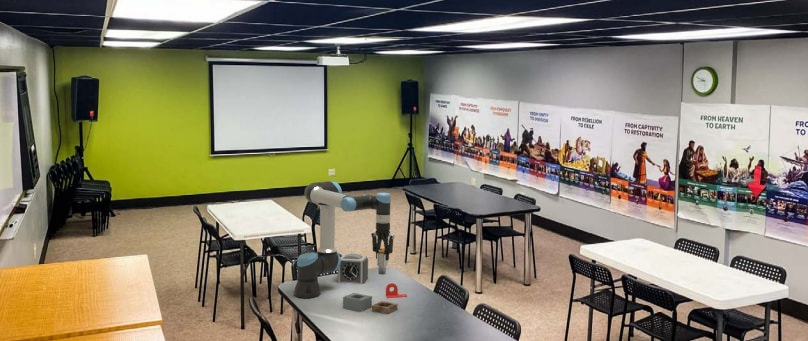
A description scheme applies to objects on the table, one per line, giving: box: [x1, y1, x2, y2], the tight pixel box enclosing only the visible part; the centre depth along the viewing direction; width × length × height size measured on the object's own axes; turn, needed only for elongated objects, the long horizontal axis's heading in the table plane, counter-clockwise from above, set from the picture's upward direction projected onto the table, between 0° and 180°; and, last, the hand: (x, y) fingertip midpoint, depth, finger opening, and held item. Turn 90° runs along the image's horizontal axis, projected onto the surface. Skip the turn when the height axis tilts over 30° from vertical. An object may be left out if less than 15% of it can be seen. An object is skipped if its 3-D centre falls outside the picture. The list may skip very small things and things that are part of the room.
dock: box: [342, 292, 373, 312], centre depth 343 cm, size 12×10×6 cm
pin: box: [377, 247, 387, 275], centre depth 337 cm, size 5×5×13 cm
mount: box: [371, 300, 399, 315], centre depth 339 cm, size 10×10×3 cm
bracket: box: [385, 282, 408, 299], centre depth 364 cm, size 12×4×8 cm, turn 102°
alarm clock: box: [337, 253, 369, 285], centre depth 391 cm, size 18×13×18 cm
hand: (382, 265), depth 337 cm, fingers closed on pin, 4 cm apart
